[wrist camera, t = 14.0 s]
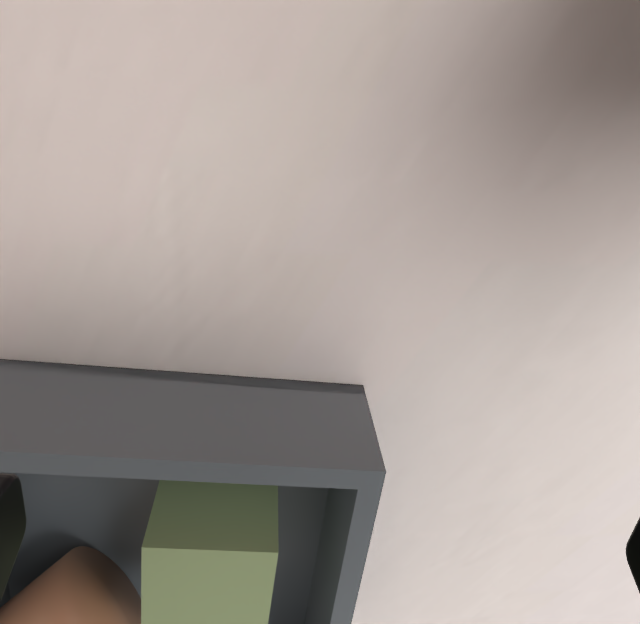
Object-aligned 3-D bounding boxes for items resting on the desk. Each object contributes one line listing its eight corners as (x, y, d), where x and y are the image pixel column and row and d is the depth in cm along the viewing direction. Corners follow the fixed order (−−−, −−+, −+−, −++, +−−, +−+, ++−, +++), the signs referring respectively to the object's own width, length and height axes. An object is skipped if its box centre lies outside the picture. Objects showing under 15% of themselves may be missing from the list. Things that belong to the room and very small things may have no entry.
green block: (277, 463, 20) (278, 552, 17) (266, 542, 22) (265, 639, 18) (165, 456, 20) (141, 547, 16) (163, 538, 21) (140, 637, 18)
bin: (363, 385, 20) (386, 471, 16) (315, 632, 25) (323, 743, 21) (-38, 356, 18) (-127, 444, 14) (5, 627, 24) (-50, 747, 20)
